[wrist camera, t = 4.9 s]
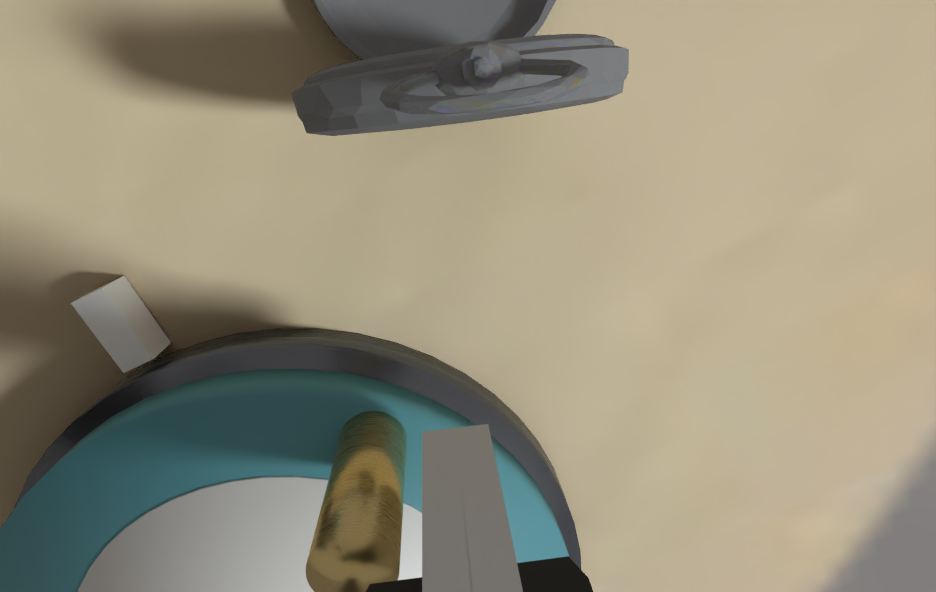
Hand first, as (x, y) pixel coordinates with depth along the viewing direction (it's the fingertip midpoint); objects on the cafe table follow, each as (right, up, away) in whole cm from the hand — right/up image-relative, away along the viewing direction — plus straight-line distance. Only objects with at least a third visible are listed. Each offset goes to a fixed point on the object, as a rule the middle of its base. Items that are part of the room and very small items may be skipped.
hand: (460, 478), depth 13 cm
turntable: (-5, -6, +6) cm, 10 cm away
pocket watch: (-1, +12, +2) cm, 12 cm away
